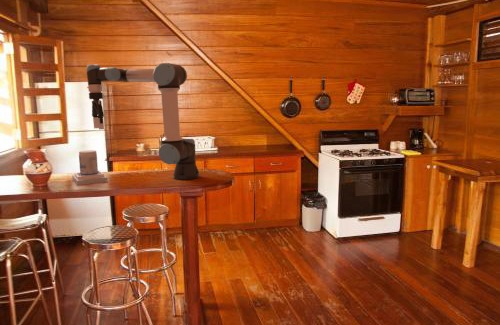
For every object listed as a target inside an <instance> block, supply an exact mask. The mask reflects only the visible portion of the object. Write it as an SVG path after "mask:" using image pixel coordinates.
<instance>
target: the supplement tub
mask: <svg viewBox="0 0 500 325" xmlns="http://www.w3.org/2000/svg"><path fill="white" fill-rule="evenodd" d="M78 159H79V160H78V162H79V173H80V176H89V175H98V171H99V170H98V156H97V150H92V149H89V150H86V149H85V150H81V151H80V150H79V151H78Z"/></svg>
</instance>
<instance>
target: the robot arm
mask: <svg viewBox="0 0 500 325" xmlns="http://www.w3.org/2000/svg"><path fill="white" fill-rule="evenodd" d="M86 77H87V87H86V88H87V89H88V92H89V93H88V98H89V100H91V117H92V118H93V119H92V121H93V129H98V130H105V124H104V122H105V121H104V117H105V114H104V109H103V105H102V100H103V99H104V95H103V82H118V83H119V82H122V83H156V84H157V90H158V91H159V92H160V93H161V107H162V109H161V110H162V120H163V121H162V123H163V138H162V139H161V146H160V147H159V148H158V157H159V158H160V160H161V162H163V163H164V164H166V165H175V167H174V171H173V173H172V174H173V176H172V178H173V179H175V180H186V181H187V180H194V179H198V178H200V172H199V169H198V165H197V161H196V160H197V158H196V140H195V139H193V138H183V137H182V136H181V132H180V131H181V128H180V113H179V97H178V96H179V95H178V92H179V91H180V89H181V86H182V85H184V84H185V82H186V81H187V78H188V74H187V71H186V69H185V67H184V66H181V65H180V64H174V63H170V62H165V63H164V62H163V63H159V64H157V65H156V66H155V68H117V67H115V66H114V67H113V66H112V67H111V66H110V67H109V66H108V67H101V65H99V64H88V65H86Z"/></svg>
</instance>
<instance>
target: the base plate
mask: <svg viewBox="0 0 500 325" xmlns="http://www.w3.org/2000/svg"><path fill="white" fill-rule="evenodd" d="M71 178H72V180H73V182H74V183H75V184H76V186H81V185H89V184H90V183H92V184H99V183H98V182H100V183H107V182H108V176H106V175H105V173H103V172H102V171H101V170H98V175H89V176H80V172H74V174H72V175H71ZM90 185H91V184H90Z"/></svg>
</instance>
